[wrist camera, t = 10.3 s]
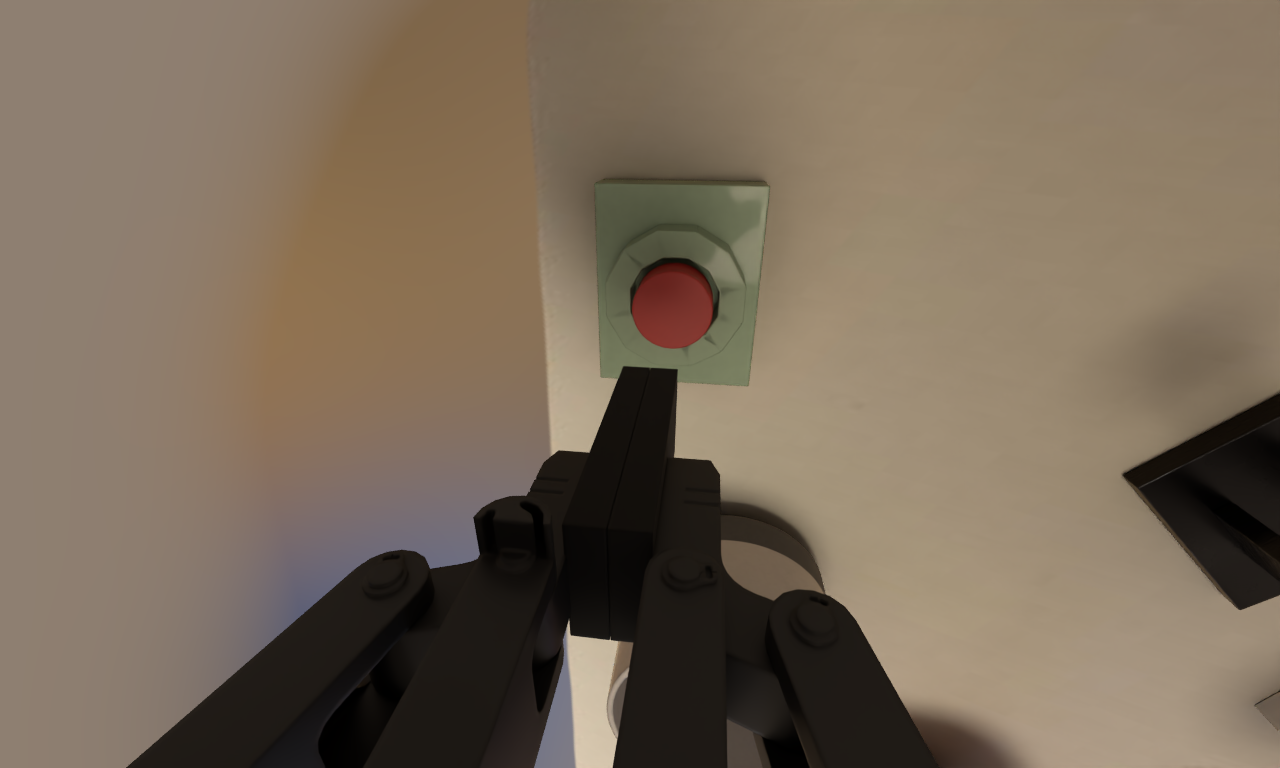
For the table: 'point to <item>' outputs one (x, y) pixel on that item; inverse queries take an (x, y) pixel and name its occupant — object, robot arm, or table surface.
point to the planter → (758, 566)
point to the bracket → (1224, 502)
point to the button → (673, 305)
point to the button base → (690, 234)
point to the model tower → (1271, 709)
